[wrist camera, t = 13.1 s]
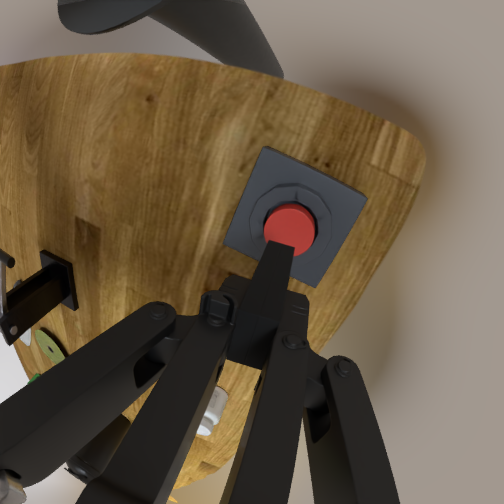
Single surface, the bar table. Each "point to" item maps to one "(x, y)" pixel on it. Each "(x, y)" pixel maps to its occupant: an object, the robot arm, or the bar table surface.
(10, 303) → the bracket
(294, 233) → the button
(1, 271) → the lever
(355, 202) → the control block
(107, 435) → the water bottle
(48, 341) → the green disc
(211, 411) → the pill bottle
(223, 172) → the bar table surface
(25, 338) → the kitchen knife
